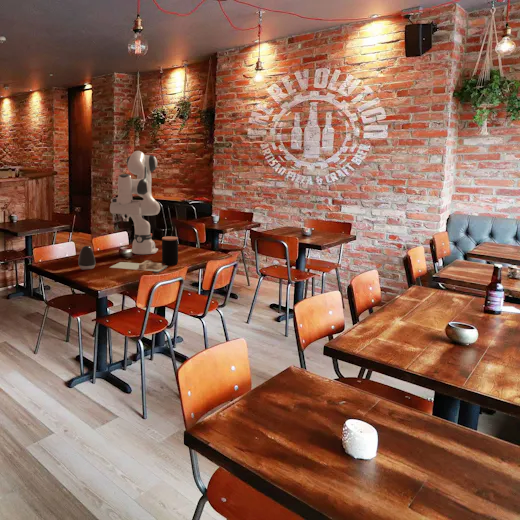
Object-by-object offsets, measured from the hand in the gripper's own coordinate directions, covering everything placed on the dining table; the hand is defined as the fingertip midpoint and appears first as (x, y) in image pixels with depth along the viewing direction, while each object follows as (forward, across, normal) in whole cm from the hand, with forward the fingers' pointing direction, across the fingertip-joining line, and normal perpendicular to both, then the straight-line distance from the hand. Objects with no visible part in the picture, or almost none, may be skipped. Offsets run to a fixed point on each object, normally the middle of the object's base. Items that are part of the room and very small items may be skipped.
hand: (125, 221), depth 301 cm
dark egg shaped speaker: (+29, +17, +20) cm, 39 cm away
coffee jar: (+29, -26, -11) cm, 41 cm away
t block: (+28, -20, +7) cm, 35 cm away
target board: (+29, -11, +7) cm, 32 cm away
